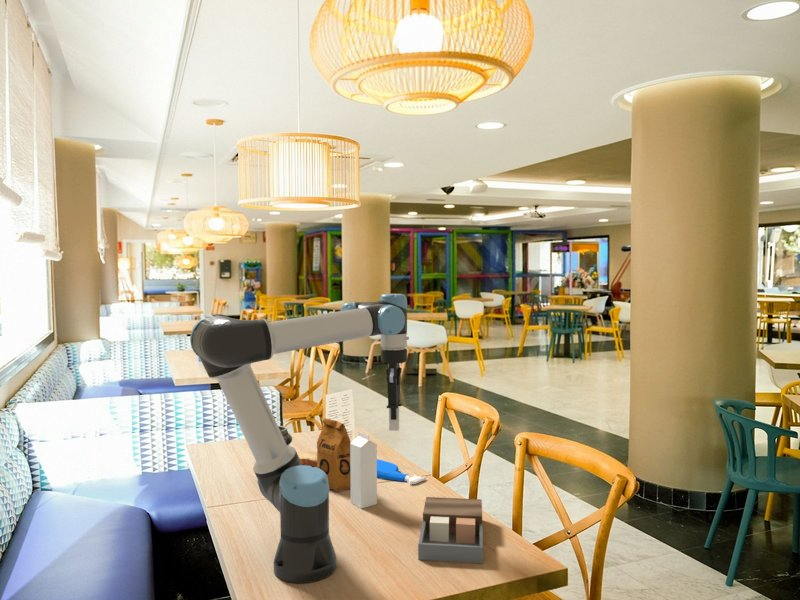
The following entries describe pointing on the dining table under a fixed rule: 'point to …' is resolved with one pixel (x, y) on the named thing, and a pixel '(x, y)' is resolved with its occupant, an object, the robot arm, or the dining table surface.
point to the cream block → (439, 529)
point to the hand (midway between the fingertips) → (394, 429)
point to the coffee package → (334, 454)
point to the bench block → (453, 511)
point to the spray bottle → (395, 473)
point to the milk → (363, 471)
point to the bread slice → (308, 458)
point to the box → (450, 548)
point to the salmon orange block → (465, 530)
